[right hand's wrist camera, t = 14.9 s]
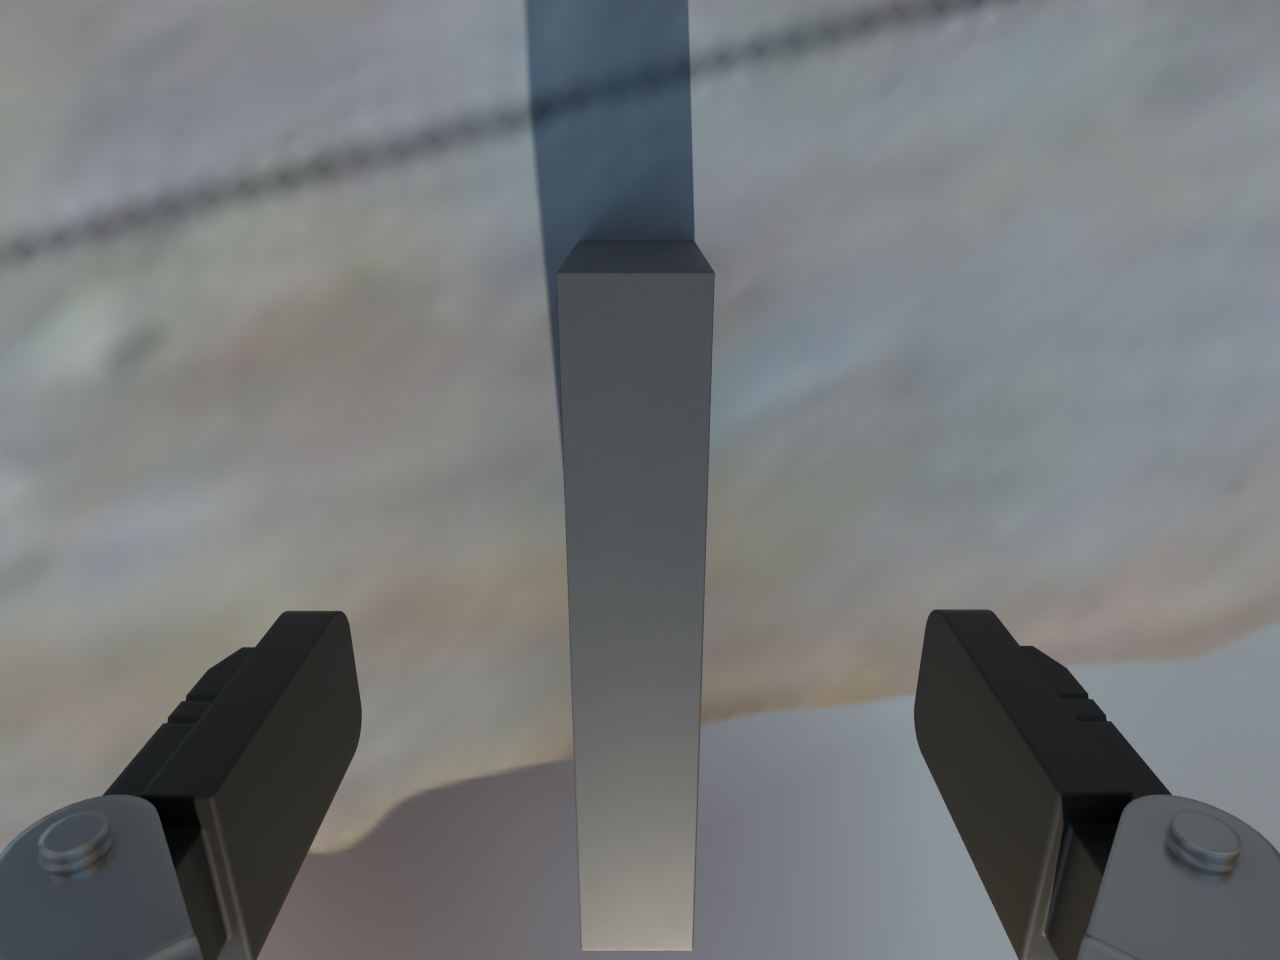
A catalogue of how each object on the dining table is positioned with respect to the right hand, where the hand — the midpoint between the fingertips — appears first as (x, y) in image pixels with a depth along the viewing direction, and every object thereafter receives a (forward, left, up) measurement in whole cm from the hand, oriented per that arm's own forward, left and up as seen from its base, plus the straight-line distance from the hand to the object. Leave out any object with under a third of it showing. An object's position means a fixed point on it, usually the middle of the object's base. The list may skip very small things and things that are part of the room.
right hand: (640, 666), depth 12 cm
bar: (+5, -9, -25) cm, 27 cm away
